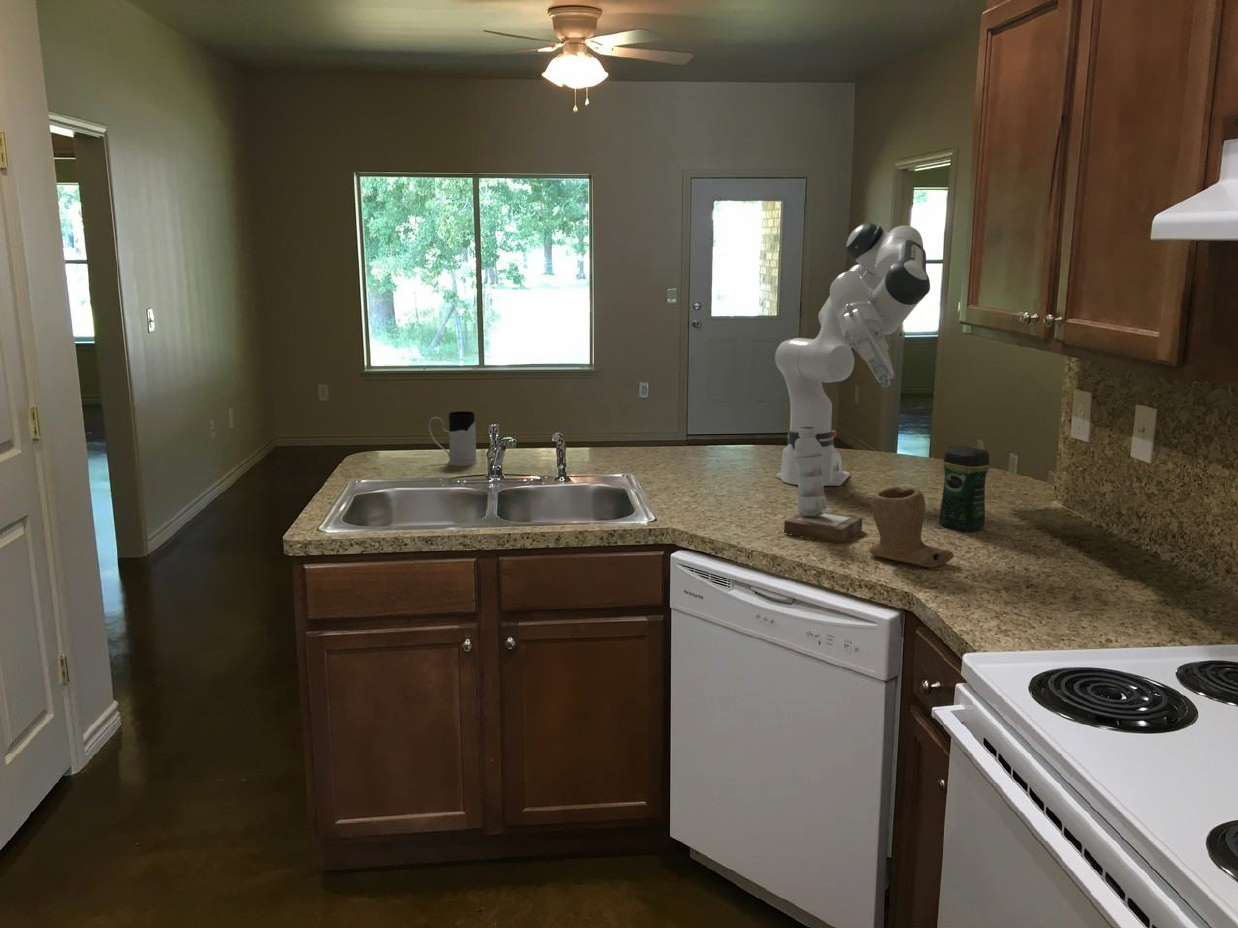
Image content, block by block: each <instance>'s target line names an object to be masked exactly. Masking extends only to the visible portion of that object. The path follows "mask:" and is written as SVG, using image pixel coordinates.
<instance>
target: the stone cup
mask: <svg viewBox="0 0 1238 928" xmlns="http://www.w3.org/2000/svg"><path fill="white" fill-rule="evenodd" d="M925 499H926V498H925V497H924V494H923V493H922V492H921V491H920V490H919V489H918V488H916V487H912V486H911V487H906V488H903V487H899V486H892V487H886V488H883V489H880V490H878V491H876V492H875V493H874V494H873V495H872V497H871V502H870V505H871V512H872V516H873V519H874V523H875V525H876V528H877V530H878V534H879V536H880V537H879V542H878V543H876V544H874V545H872V546H870V548H869V550H868V551H869V553H870V554H871V555H874V556H876V557H880V558H882V559H887V560H891V561H896V562H900V563H906V564H909V565H915V566H920V567H925V568H930V569H931V568H936V567H941V566H942V565H944V564H946V563H949V561H951V560H952V559H953V558H954V552H953V551H949V550H945V549H941V548H938V547H934V546H929V545H926V544H925V543H924V542H923V541H922V530H923V527H924V522H925V521H924V520H925V517H926V500H925Z"/></svg>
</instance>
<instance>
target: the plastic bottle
mask: <svg viewBox="0 0 1238 928" xmlns="http://www.w3.org/2000/svg"><path fill="white" fill-rule="evenodd" d="M799 436H800V440H799V441H798V443H797V444H796V446H795V449H794V456H795V461H796V466H797V473H798V485H797V486H798V487H797V499H796V507H797V511H798V514H801V515H803V516H809V517H815V516H819V515H823V514H824V513H825V512H827V504H828V503H827V498H826V495H825V489H824V486H823V482H822V461H823V449H822V446H821V445H820V443H819V442H818V441H817V439H816V438H815V436H816V428H815V427H800V428H799Z"/></svg>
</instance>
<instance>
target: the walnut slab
mask: <svg viewBox="0 0 1238 928" xmlns="http://www.w3.org/2000/svg"><path fill="white" fill-rule="evenodd" d="M783 524H784V525H783V534H784V533H787V534H792V535H797V536H796V537H798V536H803V537H802V538H804V537H809V538H814V539H813V540H815V539H819V540H818V541H821V540H825V541H824V542H827V541H828V543H833V542H834V544H841V543H843V542H845V541H847V540H848V539H850V538H853V536H855V535H857V534H858V533H860V532H862V530H863V517H861V516H855V515H847V514H841V513H834V512H828V511H825V513H824V514H823V515H819V516H815V517H809V516H803V515H801V514H800V513H798V514H796V515H794V516H792V517H790V518H788V519H785V520H784V523H783ZM856 533H857V534H856ZM792 535H791V536H792ZM809 538H808V539H809Z"/></svg>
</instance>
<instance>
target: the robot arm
mask: <svg viewBox="0 0 1238 928" xmlns="http://www.w3.org/2000/svg"><path fill="white" fill-rule="evenodd" d="M845 253H846V254H847V255H848V256H849V258H851V260H852V261H855V262H857V264H855V265H853V266H852V267H850V268H849V270H846V271H845V272H842V273H840V274H839V275H838V276H837V277H836V278H835V279H834V280H833V281H832V282H831V284H830V286H829V296H828V298H827V299H826V301H825V303H824V304H823V306H822V307H821V309H820V311H819V312H818V315H817V317H818V322H819V324H820V329H819V333H818V335H817V336H816V337H815V338H806V337H805V338H804V337H796V338H790V339H787V340H784V341H782V342H781V343H780V344H779V345H778V346H777V349H776V351H775V354H774V355H775V356H774V362H775V365H776V367H777V369H778V370H779V371H780V373H781V375H782V377H783V378H784V380H785V384H786V388H787V391H788V396H789V402H790V404H789V405H790V409H789V410H790V412H789V413H790V416H789V417H790V418H789V421H790V422H789V429H788V431H787V432H788V433H787V446H786V447H784V448H783V450H782V457H781V467H780V472H777V473H776V477H775V478H778V479H780V480H781V481H782V482H783V483H787V484H789V485H790V484H791V485H795V486H798V473H797V466H796V461H795V456H794V449H795V446H796V444H797V443H798V441H799V440H800V436H799V428H800V427H815V428H816V436H815V438H816V439H817V441H818V442H819V443H820V445H821V446H822V449H823V461H822V482H823V487H825V486H830V487H831V486H837V487H838V486H839V487H840V486H842V485H843V483H845V481H846V480H847V479H849V476H850V472H848V471H846V470H842V456H841V453H840V452H839V451H838V450H837V449H836V447H835V445H834V438H836V436H837V431H836V430H832V419H833V418H832V416H833V415H832V414H833V403H832V401H831V399H830V398H829V397H828V396H827V394H826V392H825V390H824V388H823V387H824V386H823V383H825V384H827V383H837V382H842V381H845V380H846V379H848V378H849V377H850V376H851V375H852V372H853V370H854V367H855V356H854V353H853V351H852V349H854V351H856V352H857V354H858V355H859V356H860V357H861V359H862V360H863V361H864V360H865V362H866V364H867V365H868V367H869V369H870V370H871V372H872V373H873V376H874V377H875V379H876V381H877V382H878V383H879V384H880V385H881V386H882V388H887V387H889V386H891V381H890V380H892V379H893V378H894V377H895V374H894V373H895V372H894V369H893V365H892V362H891V358H890V354H889V352H888V350H889V348H890V347H889V343H888V341H887V339H886V337H887V336H891V335H893V334H895V332H896V331H897V330H898V328H900V326H901V325H902V324H903V322H904V321H905V320H906V319H907V318H908V317H909V316H910V314H911V313H912V311H914V309H915V308H916V307H917V305H918V304H919V303H920V302H921V301H922V300H924V298H925V297H926V296H927V295H928V294H929V292H930V290H931V282H930V277H929V274H928V272H927V253H926V250H925V249H924V240H923V237H922V235H921V233H920V232H919V231H918V229H916V228H915V227H913V226H911V225H905V224H904V225H898V226H896V227H894V228H893V229H890V231H889V232H888V231H886V230H885V229H883V228H882V226H880V225H877V224H874V223H872V222H864V223H861V224H860V225H859V226H857V227H856V228H854V230H853V231H852V232H851V233H850V234H849V236H848V238H847V242H846V245H845Z"/></svg>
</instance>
